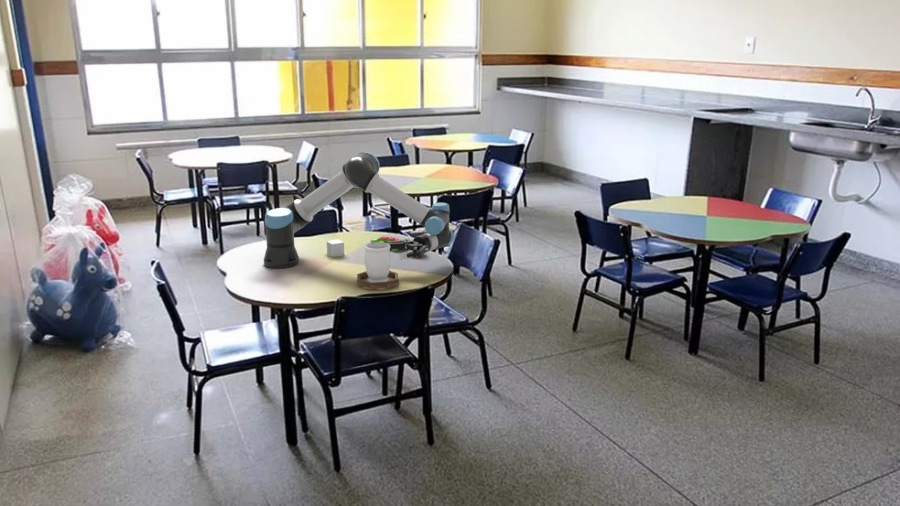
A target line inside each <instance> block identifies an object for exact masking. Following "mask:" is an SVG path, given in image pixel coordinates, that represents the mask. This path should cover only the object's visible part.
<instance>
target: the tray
mask: <svg viewBox="0 0 900 506" xmlns="http://www.w3.org/2000/svg"><path fill="white" fill-rule="evenodd" d="M356 276H357V277H356V283H355V284H356V286H357V287H359V288H361V289H363V290H367V291H386V290H390V289H393V288H396V287H397V286H399V284H400V279H399V278H400V277H399V273H398V272H396V271H391V270H389V274H388V276H387V278H388V281H387V282H368V278H369V277H368V275H367V272H366V270H365V271H362V272H359V273H357V274H356Z"/></svg>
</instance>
